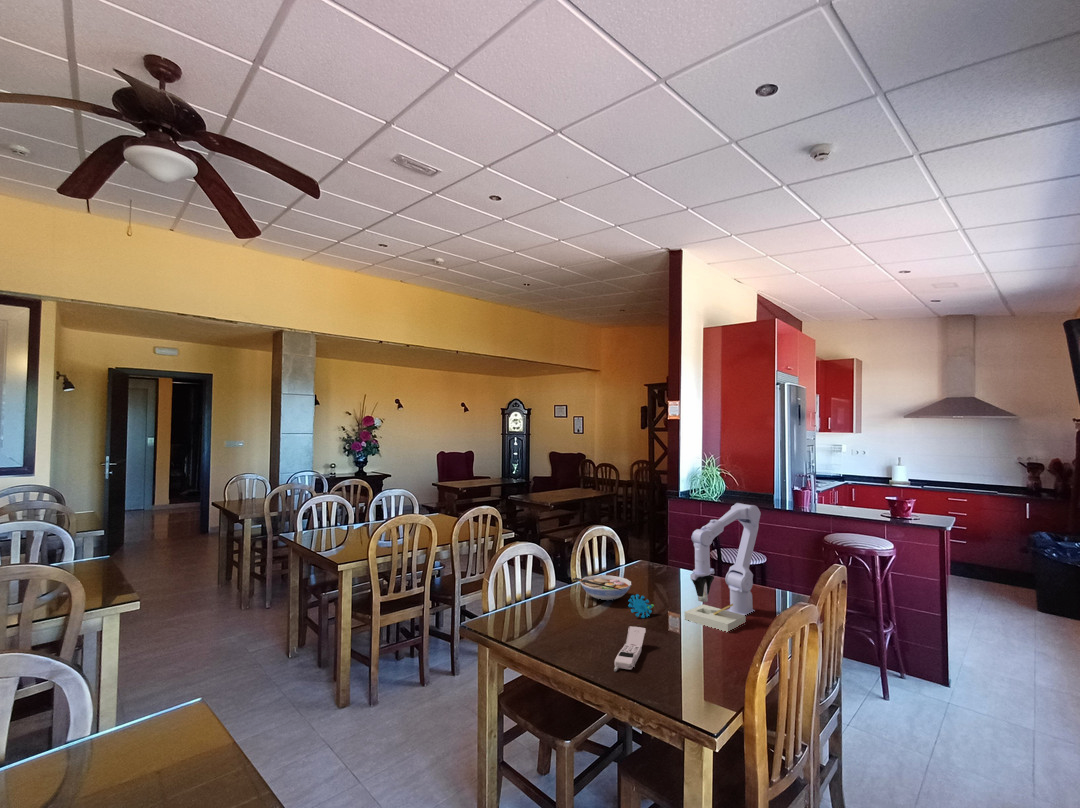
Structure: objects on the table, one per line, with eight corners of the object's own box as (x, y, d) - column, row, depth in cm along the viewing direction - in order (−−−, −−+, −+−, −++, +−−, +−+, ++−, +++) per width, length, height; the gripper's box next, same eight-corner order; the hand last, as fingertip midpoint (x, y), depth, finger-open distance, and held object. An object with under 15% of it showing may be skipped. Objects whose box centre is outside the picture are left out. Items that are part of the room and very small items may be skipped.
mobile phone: (646, 627, 178) (630, 655, 155) (646, 645, 177) (631, 675, 154) (629, 625, 180) (611, 652, 157) (629, 642, 179) (611, 672, 156)
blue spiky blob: (632, 615, 201) (627, 592, 208) (626, 623, 204) (621, 599, 212) (657, 617, 204) (651, 594, 211) (651, 624, 207) (645, 601, 215)
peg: (701, 598, 206) (700, 578, 207) (709, 600, 204) (708, 579, 205) (696, 600, 204) (695, 579, 205) (704, 602, 201) (703, 581, 202)
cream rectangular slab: (703, 611, 211) (703, 604, 211) (745, 623, 198) (745, 615, 198) (684, 619, 202) (684, 611, 202) (727, 632, 188) (727, 624, 189)
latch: (713, 614, 199) (713, 613, 199) (717, 613, 201) (717, 611, 201) (729, 606, 194) (728, 605, 194) (733, 605, 196) (732, 603, 196)
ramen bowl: (643, 598, 228) (643, 580, 229) (615, 611, 211) (615, 591, 212) (597, 587, 245) (597, 570, 245) (567, 598, 228) (567, 579, 228)
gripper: (703, 555, 213) (703, 589, 212) (683, 561, 203) (683, 596, 202) (718, 558, 208) (719, 593, 207) (699, 564, 198) (700, 600, 197)
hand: (702, 595), depth 204 cm, fingers closed on peg, 4 cm apart
